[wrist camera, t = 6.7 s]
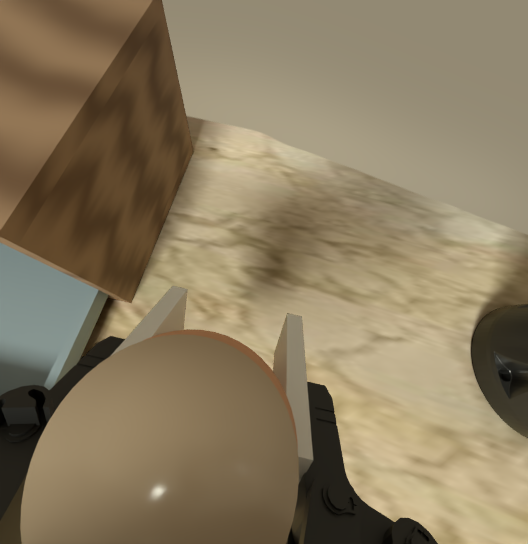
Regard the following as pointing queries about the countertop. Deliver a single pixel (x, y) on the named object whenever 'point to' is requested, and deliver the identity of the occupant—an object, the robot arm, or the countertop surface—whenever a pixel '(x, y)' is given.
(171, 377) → the jar
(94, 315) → the tray
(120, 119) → the block
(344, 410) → the countertop surface
